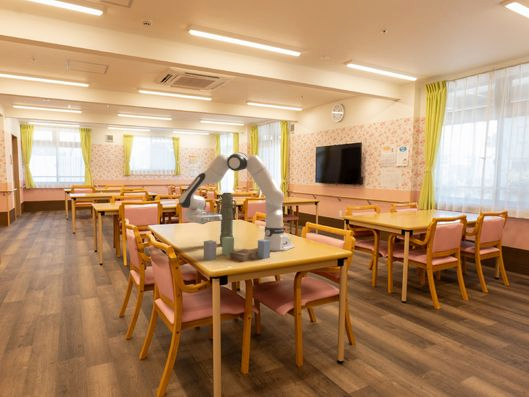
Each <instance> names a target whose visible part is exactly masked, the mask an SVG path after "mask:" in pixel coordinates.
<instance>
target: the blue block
mask: <svg viewBox="0 0 529 397" xmlns="http://www.w3.org/2000/svg"><path fill="white" fill-rule="evenodd" d="M257 252H258V258H257V259H262V260H266V259H269V258H271V250H270V240H265V239H264V238H263V239H259V240H257Z"/></svg>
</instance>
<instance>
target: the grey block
mask: <svg viewBox="0 0 529 397" xmlns="http://www.w3.org/2000/svg"><path fill="white" fill-rule="evenodd" d="M203 259H204V260H206V261H214V260H217V241H216V240H212V239H211V240H210V239H209V240H204V241H203Z"/></svg>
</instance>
